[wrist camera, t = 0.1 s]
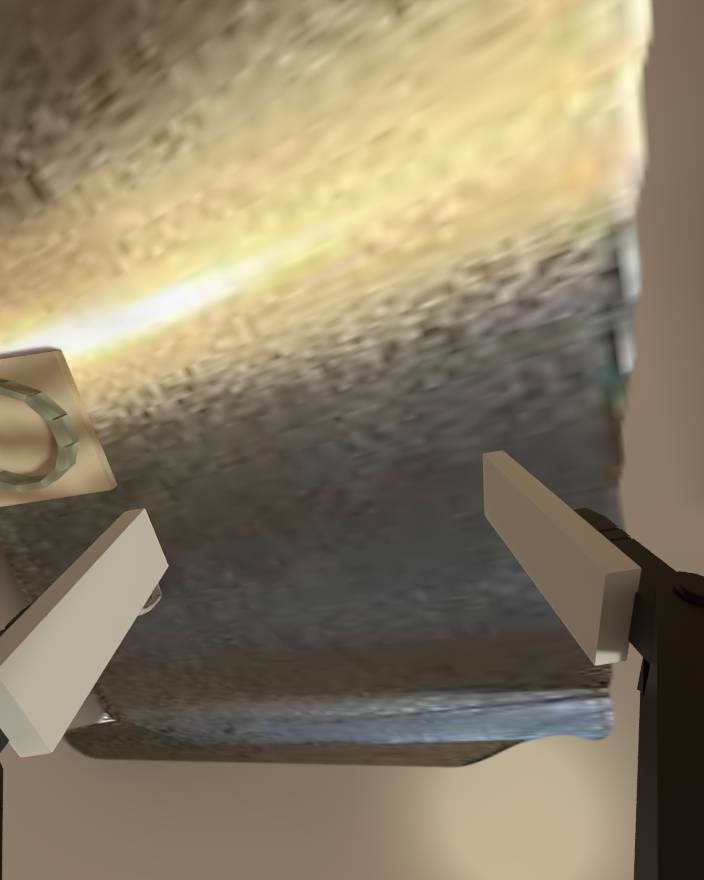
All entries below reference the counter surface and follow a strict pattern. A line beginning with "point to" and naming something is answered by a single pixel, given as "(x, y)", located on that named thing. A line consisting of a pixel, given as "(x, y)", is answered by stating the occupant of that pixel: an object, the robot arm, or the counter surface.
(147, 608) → the grey ring
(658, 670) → the robot arm
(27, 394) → the cup holder
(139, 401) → the counter surface
